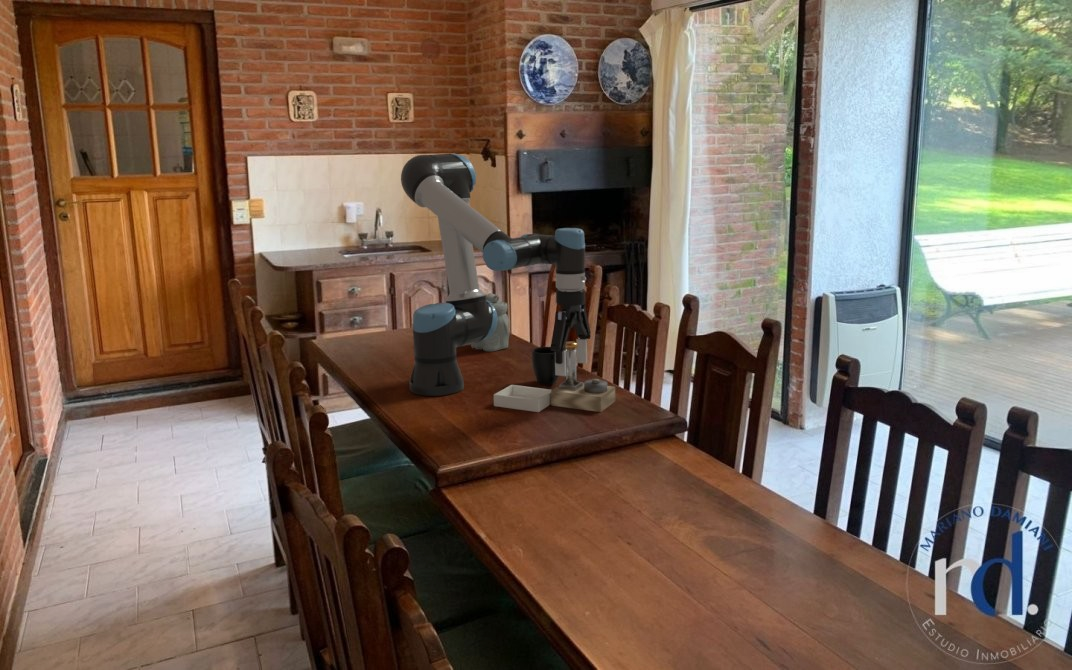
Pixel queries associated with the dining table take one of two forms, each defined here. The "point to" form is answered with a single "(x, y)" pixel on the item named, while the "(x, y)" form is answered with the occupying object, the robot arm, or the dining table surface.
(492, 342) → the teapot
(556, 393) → the beige compartment box
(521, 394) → the tray
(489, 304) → the robot arm
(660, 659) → the dining table surface
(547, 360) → the mug
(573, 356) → the pin
